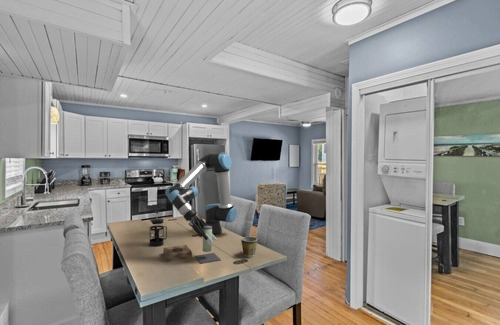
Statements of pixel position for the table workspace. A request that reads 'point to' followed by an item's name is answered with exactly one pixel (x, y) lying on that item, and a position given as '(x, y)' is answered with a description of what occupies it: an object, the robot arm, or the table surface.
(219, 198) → the robot arm
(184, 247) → the socket block
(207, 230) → the plug
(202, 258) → the mat
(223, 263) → the table surface
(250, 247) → the ceramic cup
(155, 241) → the french press
